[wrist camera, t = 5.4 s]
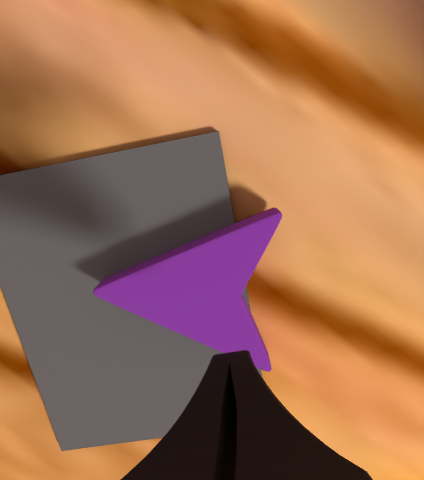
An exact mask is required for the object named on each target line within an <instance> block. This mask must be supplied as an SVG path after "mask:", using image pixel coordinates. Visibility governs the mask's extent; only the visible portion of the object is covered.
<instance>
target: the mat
mask: <svg viewBox="0 0 424 480" xmlns="http://www.w3.org/2000/svg"><path fill="white" fill-rule="evenodd" d="M234 223H235V221H234V215H233V209H232V204H231V198H230V192H229V187H228V181H227V175H226V170H225V164H224V158H223V153H222V147H221V141H220V136H219V131H217V132H212V133H207V134H202V135H197V136H192V137H187V138H182V139H177V140H172V141H167V142H162V143H157V144H153V145H148V146H143V147H138V148H133V149H128V150H123V151H118V152H113V153H108V154H103V155H98V156H93V157H88V158H83V159H78V160H73V161H68V162H63V163H58V164H53V165H48V166H43V167H39V168H34V169H29V170H24V171H19V172H14V173H9V174H4V175H0V286H1V289H2V292H3V294H4V297H5V300H6V302H7V305H8V308H9V310H10V313H11V316H12V319H13V321H14V324H15V327H16V329H17V332H18V335H19V337H20V340H21V343H22V346H23V348H24V351H25V354H26V356H27V359H28V362H29V364H30V367H31V370H32V373H33V375H34V378H35V381H36V383H37V386H38V389H39V392H40V394H41V397H42V400H43V402H44V405H45V408H46V410H47V413H48V416H49V419H50V421H51V424H52V427H53V429H54V432H55V435H56V437H57V440H58V443H59V446H60V448H61V451H65V450H73V449H80V448H88V447H95V446H103V445H110V444H118V443H125V442H133V441H140V440H148V439H155V438H163V437H164V436H165V435H166V434H167V433H168V431H169V430H170V429H171V427H172V426H173V425H174V424H175V422H176V421H177V419H178V418H179V417H180V415H181V414H182V412H183V411H184V409H185V408H186V406H187V404H188V403H189V401H190V400H191V398H192V396H193V395H194V393H195V391H196V389H197V387H198V386H199V384H200V382H201V380H202V378H203V376H204V374H205V372H206V370H207V368H208V365H209V363H210V361H211V358H212V357H213V355H216V354H222V353H223V352H220V351H218V350H216V349H213V348H211V347H209V346H207V345H204V344H202V343H200V342H198V341H195V340H193V339H191V338H188V337H186V336H184V335H182V334H179V333H177V332H175V331H173V330H170V329H168V328H166V327H163V326H161V325H159V324H157V323H154V322H152V321H150V320H148V319H145V318H143V317H141V316H139V315H136V314H134V313H132V312H129V311H127V310H125V309H123V308H121V307H118V306H116V305H114V304H112V303H109V302H107V301H105V300H103V299H101V298H99V297H97V296H95V295H94V294H93V290H94V289H95V287H96V286H97V285H98V284H99V283H100V282H101V281H102V280H103V279H105V278H107V277H109V276H111V275H114V274H116V273H118V272H121V271H123V270H125V269H128V268H130V267H132V266H135V265H137V264H139V263H142V262H144V261H146V260H149V259H151V258H154V257H156V256H158V255H161V254H163V253H165V252H168V251H170V250H172V249H175V248H177V247H180V246H182V245H184V244H187V243H189V242H191V241H194V240H196V239H199V238H201V237H203V236H206V235H208V234H210V233H213V232H215V231H218V230H220V229H222V228H225V227H227V226H229V225H232V224H234ZM242 294H243V296H244V298H245V301H246V303H247V305H248V308H249V310H250V306H249V300H248V294H247V289H246V286H245V288H244V290H243V292H242ZM250 312H251V311H250ZM256 368H257V367H256ZM257 370H258V372H259V374H260V375H261V377H262V374H261V369H260V368H257Z"/></svg>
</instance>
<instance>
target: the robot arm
mask: <svg viewBox="0 0 424 480" xmlns="http://www.w3.org/2000/svg"><path fill="white" fill-rule="evenodd" d="M121 480H373V479H372V478H371V477H370V475H369V474H368V473H367V472H366V471H365V470H363V469H362V468H360V467H358V466H357V465H355V464H353V463H352V462H350V461H349V460H347V459H345V458H344V457H342V456H340V455H339V454H338V453H336V452H335V451H334V450H332V449H331V448H329V447H328V446H327V445H325V444H324V443H323V442H322V441H320V440H319V439H318V438H317V437H316V436H315V435H313V434H312V433H311V432H310V431H309V430H307V429H306V428H305V427H304V426H303V425H302V424H301V423H300V422H299V421H298V420H297V419H296V418H294V416H293V415H292V414H291V413H290V412H289V411H288V410H287V409H286V408H285V407H284V406H283V405H282V403H281V402H280V401H279V400H278V399H277V397H276V396H275V395H274V394H273V392H272V391H271V390H270V388H269V387H268V386H267V384H266V383H265V381H264V380H263V378H262V377H261V375H260V374H259V372H258V370H257V368H256V367H255V365H254V363H253V360H252V358H251V355H250V352H249V351H247V350H242V351H236V352H229V353H222V354H216V355H213V357H212V358H211V361H210V363H209V365H208V368H207V370H206V372H205V374H204V376H203V378H202V380H201V382H200V384H199V386H198V387H197V389H196V391H195V393H194V395H193V396H192V398H191V400H190V401H189V403H188V404H187V406H186V408H185V409H184V411H183V412H182V414H181V415H180V417H179V418H178V419H177V421H176V422H175V424H174V425H173V426H172V427H171V429H170V430H169V431H168V433H167V434H166V435H165V436H164V437H163V438H162V440H161V441H160V442H159V443H158V444H157V445H156V446H155V447H154V448H153V449H152V451H151V452H150V453H149V454H148V455H147V456H146V457H145V458H144V459H143V460H142V461H141V462H140V463H139V464H138V465H136V466H135V467H134V468H133V469H132V470H131V471H130V472H129V473H128V474H127V475H125V476H124V477H123V478H122V479H121Z"/></svg>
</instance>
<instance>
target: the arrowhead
mask: <svg viewBox="0 0 424 480" xmlns="http://www.w3.org/2000/svg"><path fill="white" fill-rule="evenodd" d="M281 218H282V213H281V212H280V211H279V210H278V209H277V208H271V209H268V210H266V211H263V212H261V213H258V214H256V215H253V216H251V217H249V218H246V219H244V220H241V221H239V222H237V223H234V224H232V225H229V226H227V227H225V228H222V229H220V230H218V231H215V232H213V233H210V234H208V235H206V236H203V237H201V238H199V239H196V240H194V241H191V242H189V243H187V244H184V245H182V246H180V247H177V248H175V249H172V250H170V251H168V252H165V253H163V254H161V255H158V256H156V257H154V258H151V259H149V260H146V261H144V262H142V263H139V264H137V265H135V266H132V267H130V268H128V269H125V270H123V271H121V272H118V273H116V274H114V275H111V276H109V277H107V278H105V279H103V280H102V281H101V282H100V283H99V284H98V285H97V286H96V287H95V289H94V290H93V294H94V295H95V296H97V297H99V298H101V299H103V300H105V301H107V302H109V303H112V304H114V305H116V306H118V307H121V308H123V309H125V310H127V311H129V312H132V313H134V314H136V315H139V316H141V317H143V318H145V319H148V320H150V321H152V322H154V323H157V324H159V325H161V326H163V327H166V328H168V329H170V330H173V331H175V332H177V333H179V334H182V335H184V336H186V337H188V338H191V339H193V340H195V341H198V342H200V343H202V344H204V345H207V346H209V347H211V348H213V349H216V350H218V351H220V352H223V353H229V352H236V351H242V350H247V351H249V352H250V355H251V358H252V360H253V363H254V365H255V367H257V368H260V369H262V370H264V371H271V364H270V360H269V355H268V352H267V349H266V347H265V344H264V342H263V339H262V337H261V335H260V333H259V330H258V328H257V326H256V323H255V321H254V319H253V317H252V314H251V312H250V310H249V308H248V305H247V303H246V301H245V298H244V296H243V294H242V292H243V290H244V288H245V286H246V284H247V283H248V281H249V279H250V277H251V275H252V273H253V271H254V270H255V268H256V266H257V264H258V262H259V260H260V258H261V257H262V255H263V253H264V251H265V249H266V247H267V245H268V243H269V241H270V240H271V238H272V236H273V234H274V232H275V230H276V228H277V226H278V224H279V222H280V220H281Z"/></svg>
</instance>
